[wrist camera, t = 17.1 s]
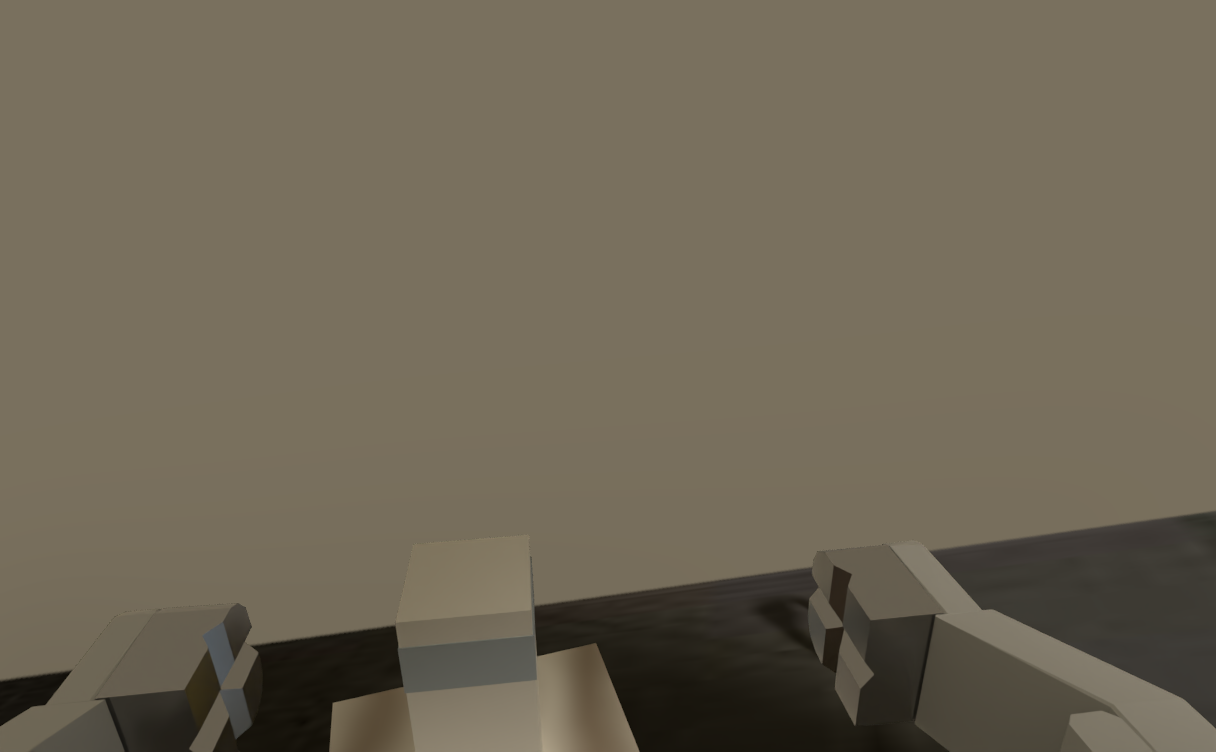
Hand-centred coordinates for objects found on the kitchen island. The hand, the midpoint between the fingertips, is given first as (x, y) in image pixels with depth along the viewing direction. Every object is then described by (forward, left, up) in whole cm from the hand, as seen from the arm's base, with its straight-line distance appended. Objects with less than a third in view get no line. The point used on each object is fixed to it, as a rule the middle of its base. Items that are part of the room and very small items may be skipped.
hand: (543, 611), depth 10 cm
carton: (0, -19, -26) cm, 32 cm away
